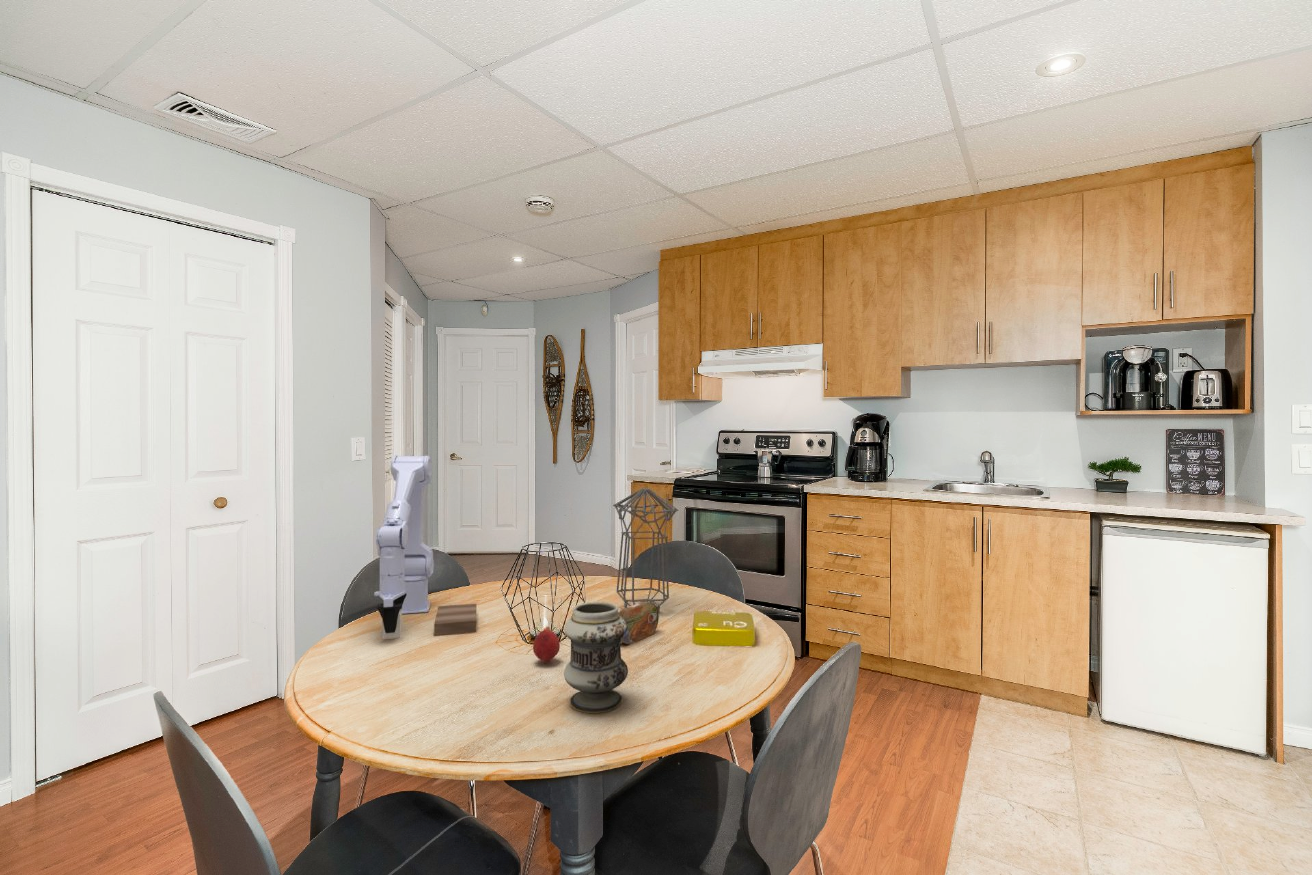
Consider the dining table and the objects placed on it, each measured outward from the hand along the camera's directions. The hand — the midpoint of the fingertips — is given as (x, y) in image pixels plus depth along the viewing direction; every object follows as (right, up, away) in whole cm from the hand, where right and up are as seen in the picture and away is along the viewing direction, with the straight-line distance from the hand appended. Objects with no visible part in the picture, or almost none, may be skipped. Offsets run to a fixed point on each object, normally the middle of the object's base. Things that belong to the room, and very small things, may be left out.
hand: (392, 627), depth 152 cm
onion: (+41, -3, -17) cm, 45 cm away
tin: (+61, -3, -1) cm, 61 cm away
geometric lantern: (+62, -2, +22) cm, 66 cm away
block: (0, -2, 0) cm, 2 cm away
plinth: (+13, -2, +9) cm, 16 cm away
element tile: (+82, -3, +1) cm, 82 cm away
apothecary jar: (+54, -3, -36) cm, 65 cm away
